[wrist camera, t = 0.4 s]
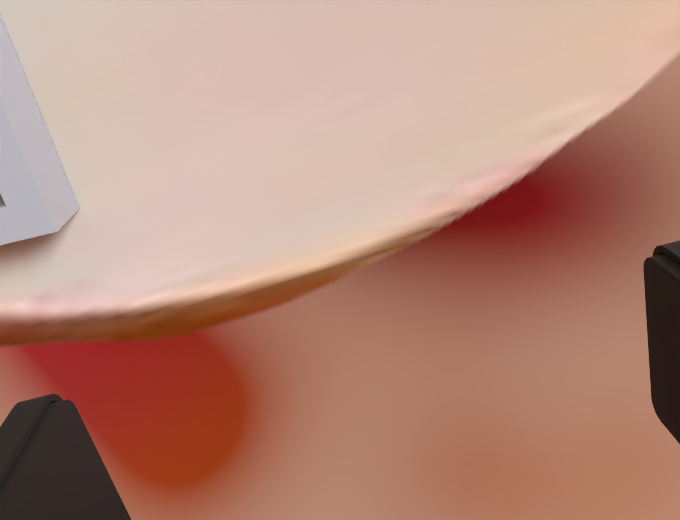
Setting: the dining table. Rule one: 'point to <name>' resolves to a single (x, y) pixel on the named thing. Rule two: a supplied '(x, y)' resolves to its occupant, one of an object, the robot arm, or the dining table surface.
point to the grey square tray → (27, 159)
